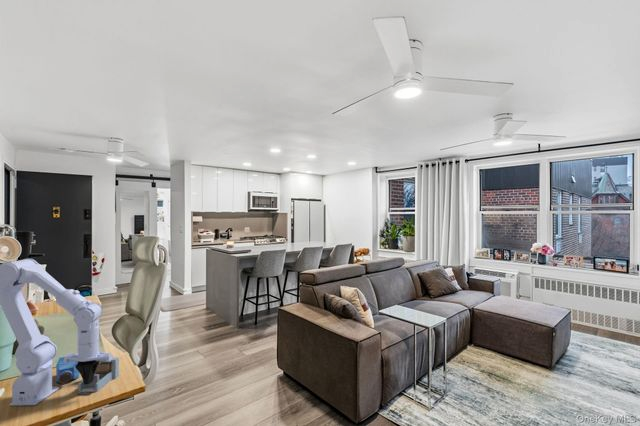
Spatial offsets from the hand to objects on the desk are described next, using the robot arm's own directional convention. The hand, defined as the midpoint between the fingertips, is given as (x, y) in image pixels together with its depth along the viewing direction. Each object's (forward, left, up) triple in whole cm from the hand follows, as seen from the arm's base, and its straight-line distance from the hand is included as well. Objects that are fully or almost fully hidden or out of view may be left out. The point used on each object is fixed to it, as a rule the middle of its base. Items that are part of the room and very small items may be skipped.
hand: (88, 382), depth 104 cm
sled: (+9, 0, -2) cm, 9 cm away
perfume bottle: (+13, +15, 0) cm, 20 cm away
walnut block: (+9, 0, -2) cm, 9 cm away
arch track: (+6, 0, -3) cm, 7 cm away
